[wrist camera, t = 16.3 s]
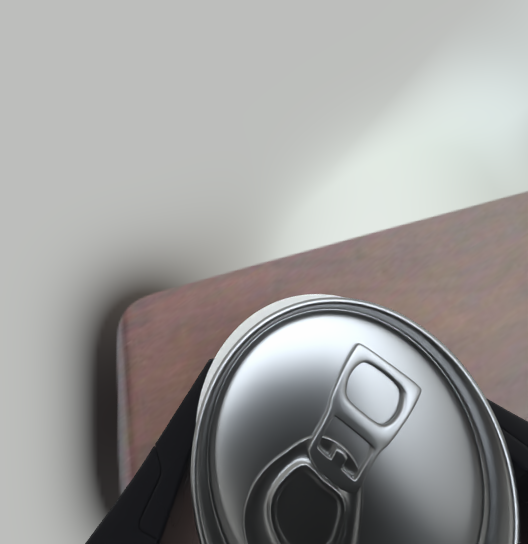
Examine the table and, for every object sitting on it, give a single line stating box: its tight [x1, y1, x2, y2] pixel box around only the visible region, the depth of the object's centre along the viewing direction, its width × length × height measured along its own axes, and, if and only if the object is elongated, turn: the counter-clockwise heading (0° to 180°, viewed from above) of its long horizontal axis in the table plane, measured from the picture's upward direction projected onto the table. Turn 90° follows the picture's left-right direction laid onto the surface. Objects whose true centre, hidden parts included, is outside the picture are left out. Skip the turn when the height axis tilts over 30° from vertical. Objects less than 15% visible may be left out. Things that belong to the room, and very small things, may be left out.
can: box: [191, 294, 520, 544], centre depth 9 cm, size 6×6×12 cm
